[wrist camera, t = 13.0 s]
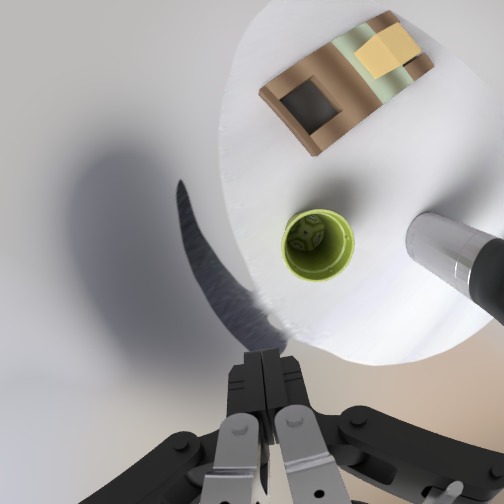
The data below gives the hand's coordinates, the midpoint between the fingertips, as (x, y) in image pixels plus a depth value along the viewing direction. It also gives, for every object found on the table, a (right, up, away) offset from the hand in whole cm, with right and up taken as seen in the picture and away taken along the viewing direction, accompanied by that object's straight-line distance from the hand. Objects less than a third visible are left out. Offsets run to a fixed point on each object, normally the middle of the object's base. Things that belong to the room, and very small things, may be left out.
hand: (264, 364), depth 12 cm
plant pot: (+7, +8, +31) cm, 33 cm away
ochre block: (+18, +33, +21) cm, 43 cm away
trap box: (+15, +32, +24) cm, 43 cm away
